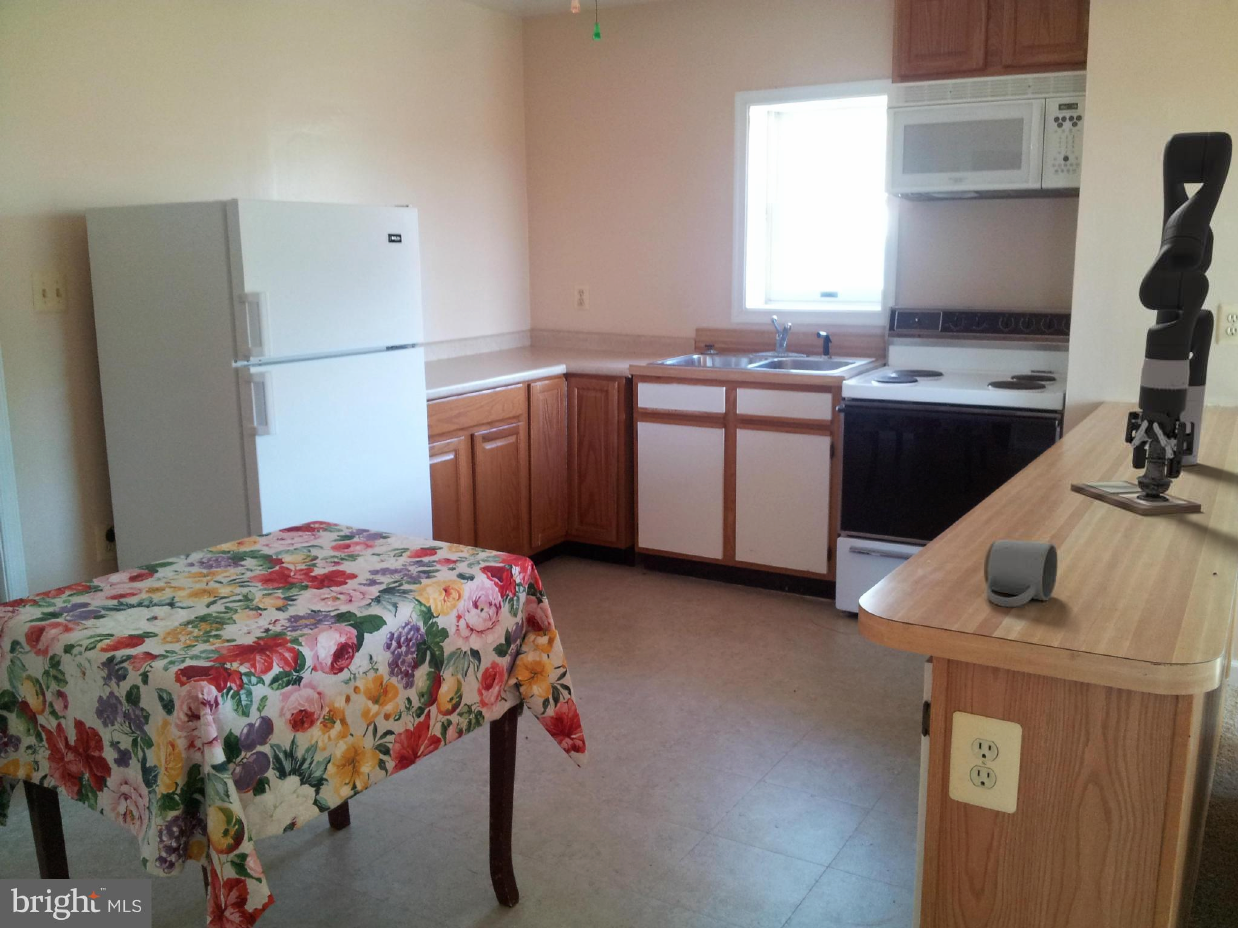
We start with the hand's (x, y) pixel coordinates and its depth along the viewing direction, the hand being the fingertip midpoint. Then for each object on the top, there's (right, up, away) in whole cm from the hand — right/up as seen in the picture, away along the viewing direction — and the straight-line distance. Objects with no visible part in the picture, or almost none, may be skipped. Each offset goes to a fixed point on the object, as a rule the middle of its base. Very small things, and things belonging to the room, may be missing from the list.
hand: (1154, 473), depth 185 cm
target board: (-1, -5, +6) cm, 8 cm away
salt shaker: (0, -5, +1) cm, 5 cm away
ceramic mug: (-43, -17, -46) cm, 65 cm away
